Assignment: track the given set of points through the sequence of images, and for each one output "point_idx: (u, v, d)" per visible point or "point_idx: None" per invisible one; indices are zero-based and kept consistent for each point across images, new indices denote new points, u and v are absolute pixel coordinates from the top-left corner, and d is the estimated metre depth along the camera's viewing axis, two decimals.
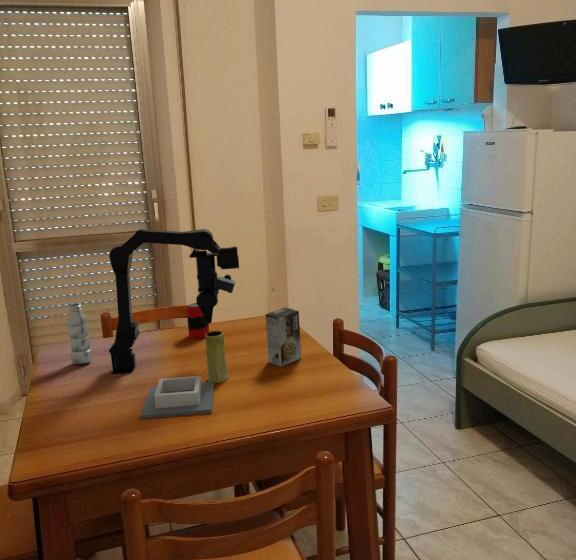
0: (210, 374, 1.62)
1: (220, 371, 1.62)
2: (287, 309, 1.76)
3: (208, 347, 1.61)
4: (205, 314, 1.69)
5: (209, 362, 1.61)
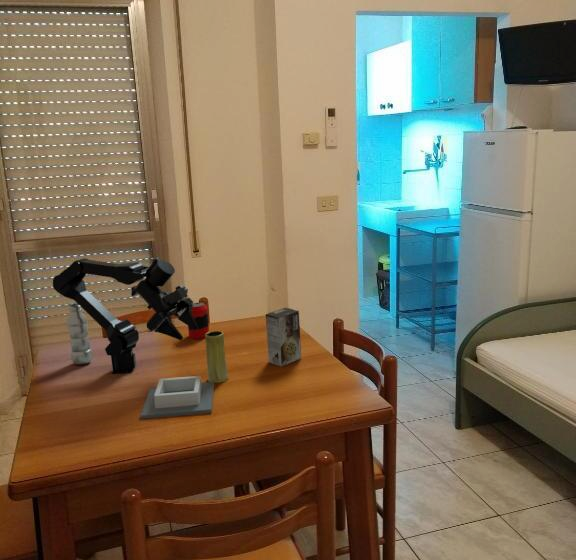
0: (210, 374, 1.62)
1: (220, 371, 1.62)
2: (287, 309, 1.76)
3: (208, 347, 1.61)
4: (170, 334, 1.60)
5: (209, 362, 1.61)
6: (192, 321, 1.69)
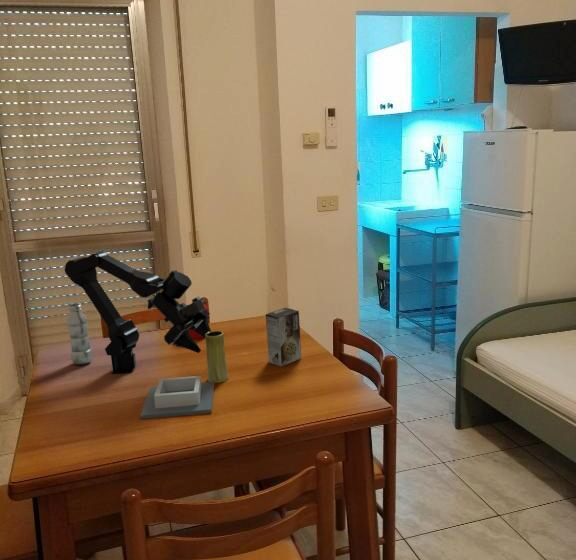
0: (210, 374, 1.62)
1: (220, 371, 1.62)
2: (287, 309, 1.76)
3: (208, 347, 1.61)
4: (188, 347, 1.59)
5: (209, 362, 1.61)
6: None
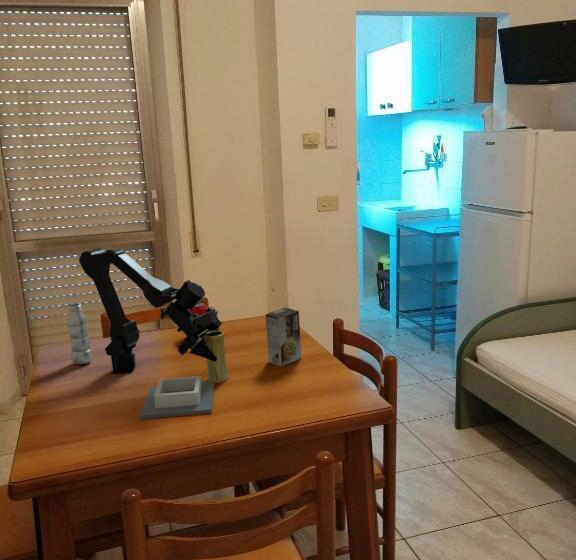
0: (210, 374, 1.62)
1: (220, 371, 1.62)
2: (287, 309, 1.76)
3: (208, 347, 1.61)
4: (204, 356, 1.60)
5: (209, 362, 1.61)
6: None
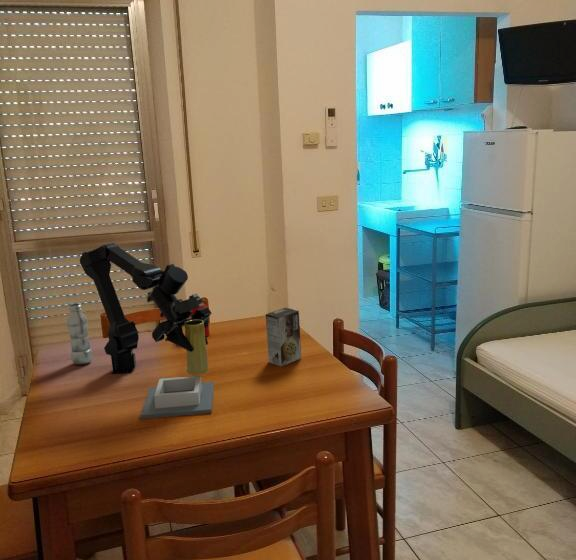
0: (188, 364, 1.53)
1: (197, 362, 1.52)
2: (287, 309, 1.76)
3: (186, 336, 1.52)
4: (181, 344, 1.51)
5: (187, 352, 1.53)
6: None
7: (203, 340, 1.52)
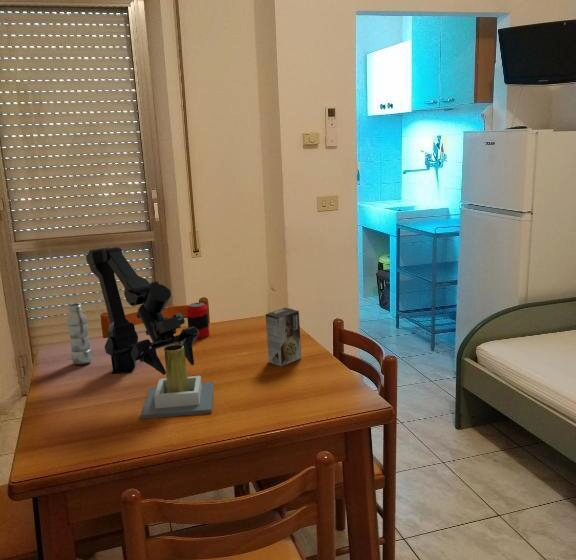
0: (167, 390, 1.50)
1: (176, 389, 1.48)
2: (287, 309, 1.76)
3: (165, 361, 1.48)
4: (154, 366, 1.46)
5: None
6: (189, 354, 1.52)
7: (182, 366, 1.48)
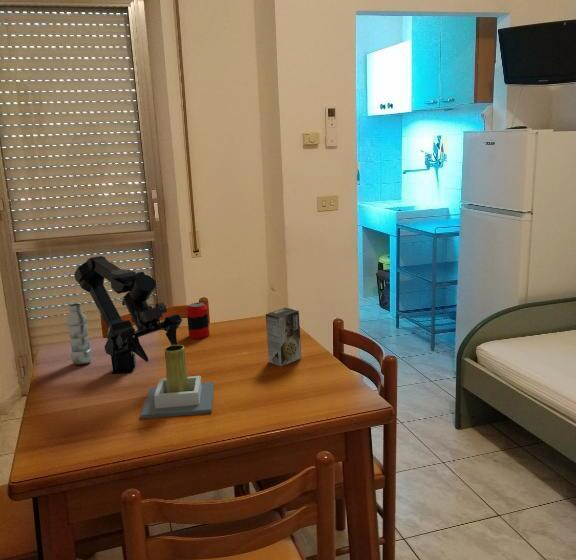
0: (167, 390, 1.50)
1: (176, 389, 1.48)
2: (287, 309, 1.76)
3: None
4: (138, 354, 1.54)
5: None
6: (173, 341, 1.59)
7: (182, 367, 1.48)
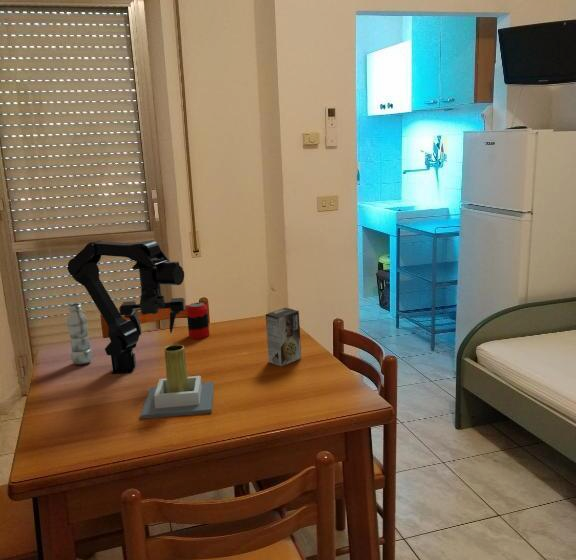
0: (167, 390, 1.50)
1: (176, 389, 1.48)
2: (287, 309, 1.76)
3: None
4: None
5: None
6: (170, 324, 1.67)
7: (182, 367, 1.48)
